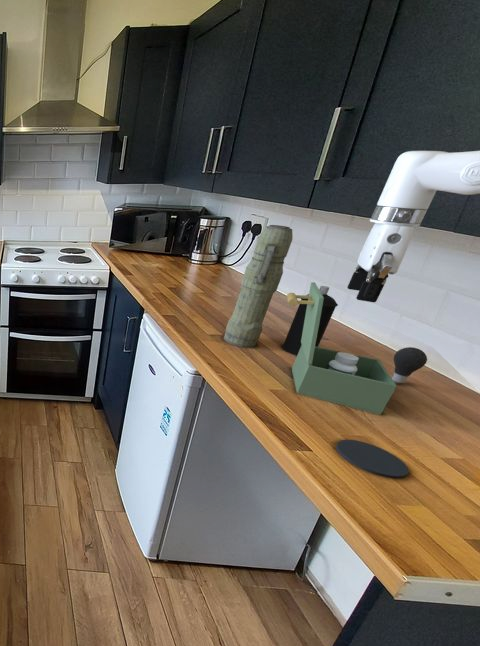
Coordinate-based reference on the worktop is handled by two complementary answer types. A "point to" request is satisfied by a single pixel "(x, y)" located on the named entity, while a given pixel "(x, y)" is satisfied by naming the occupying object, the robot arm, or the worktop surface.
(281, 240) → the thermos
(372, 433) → the worktop surface
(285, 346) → the aerosol can
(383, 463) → the coaster
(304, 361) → the chest
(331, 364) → the pill bottle
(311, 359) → the chest lid
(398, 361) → the light bulb
